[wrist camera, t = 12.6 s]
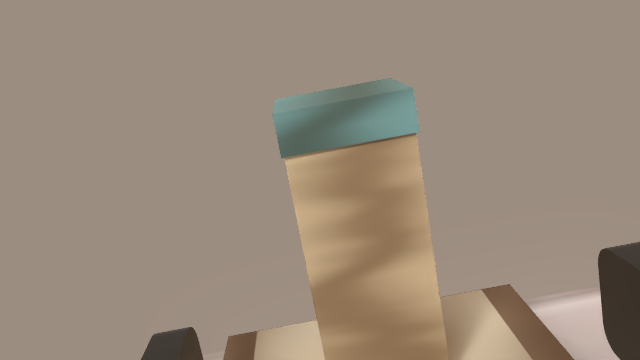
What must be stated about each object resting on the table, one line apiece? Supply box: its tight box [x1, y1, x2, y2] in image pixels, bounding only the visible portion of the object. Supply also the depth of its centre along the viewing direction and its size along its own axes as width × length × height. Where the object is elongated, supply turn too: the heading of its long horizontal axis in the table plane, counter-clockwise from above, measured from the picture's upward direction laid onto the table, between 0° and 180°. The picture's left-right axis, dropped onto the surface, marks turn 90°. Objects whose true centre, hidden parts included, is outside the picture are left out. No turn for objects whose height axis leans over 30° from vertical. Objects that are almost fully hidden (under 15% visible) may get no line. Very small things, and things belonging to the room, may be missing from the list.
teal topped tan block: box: [273, 78, 449, 360], centre depth 23 cm, size 5×5×11 cm
